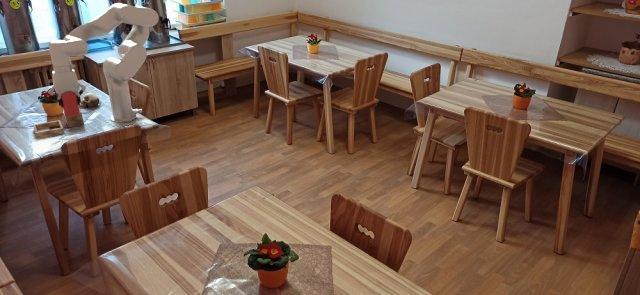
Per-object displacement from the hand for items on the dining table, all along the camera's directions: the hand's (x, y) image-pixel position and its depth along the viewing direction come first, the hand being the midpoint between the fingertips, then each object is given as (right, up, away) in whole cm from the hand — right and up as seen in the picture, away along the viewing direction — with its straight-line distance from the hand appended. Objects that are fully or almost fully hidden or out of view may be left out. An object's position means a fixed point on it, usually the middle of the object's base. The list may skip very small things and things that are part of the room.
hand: (70, 105), depth 225 cm
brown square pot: (-5, -8, +14) cm, 17 cm away
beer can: (0, -4, +2) cm, 5 cm away
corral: (-13, -12, +5) cm, 18 cm away
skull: (-8, +2, +37) cm, 38 cm away
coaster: (0, -12, +6) cm, 14 cm away
